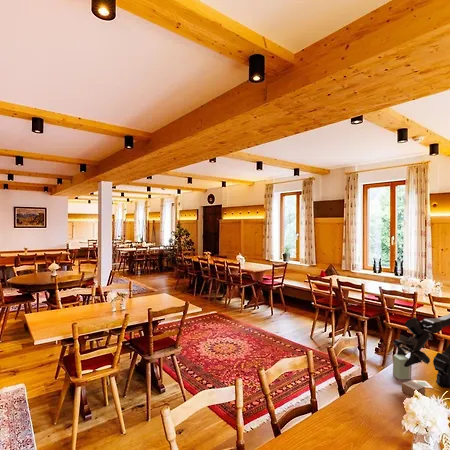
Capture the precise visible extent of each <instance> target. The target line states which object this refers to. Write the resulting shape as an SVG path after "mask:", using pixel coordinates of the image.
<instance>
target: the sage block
mask: <svg viewBox="0 0 450 450" xmlns="http://www.w3.org/2000/svg"><path fill="white" fill-rule="evenodd" d="M392 357H393V359H392V375H393V374H394V375H395V376H396V377H397V378H396V377H395V376H394V375H393V376H394V377H395V378H396V379H398V380H410V379H409V366H408V367H405V366H404V365H405V363H406V362H407V360H408V359H409V357H407V355H406V356H404V355H397V354H393V356H392Z"/></svg>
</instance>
